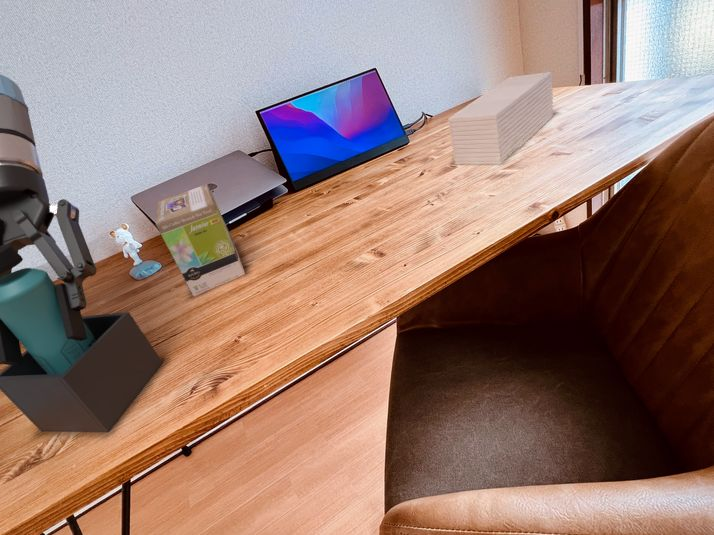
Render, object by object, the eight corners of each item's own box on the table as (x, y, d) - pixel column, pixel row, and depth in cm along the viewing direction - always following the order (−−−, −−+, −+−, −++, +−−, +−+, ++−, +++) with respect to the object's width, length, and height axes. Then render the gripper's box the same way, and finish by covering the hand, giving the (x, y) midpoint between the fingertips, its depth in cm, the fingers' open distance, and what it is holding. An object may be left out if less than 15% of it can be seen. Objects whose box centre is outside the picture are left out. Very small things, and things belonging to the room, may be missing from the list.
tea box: (248, 276, 76) (213, 201, 69) (194, 299, 74) (152, 225, 67) (236, 247, 89) (206, 181, 81) (190, 266, 87) (154, 200, 79)
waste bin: (43, 434, 54) (-10, 380, 49) (104, 369, 63) (64, 317, 58) (111, 435, 50) (62, 377, 45) (165, 366, 59) (128, 311, 54)
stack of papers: (511, 119, 114) (508, 77, 109) (553, 116, 108) (551, 71, 102) (455, 166, 96) (448, 118, 90) (500, 166, 89) (496, 114, 84)
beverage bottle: (122, 381, 54) (22, 245, 44) (66, 412, 51) (-53, 275, 41) (116, 357, 59) (26, 230, 49) (65, 384, 56) (-41, 256, 46)
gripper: (101, 169, 59) (145, 323, 53) (-49, 218, 56) (-20, 386, 50) (68, 138, 51) (114, 311, 46) (-106, 192, 49) (-80, 384, 43)
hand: (44, 350), depth 48 cm, fingers closed on beverage bottle, 6 cm apart
